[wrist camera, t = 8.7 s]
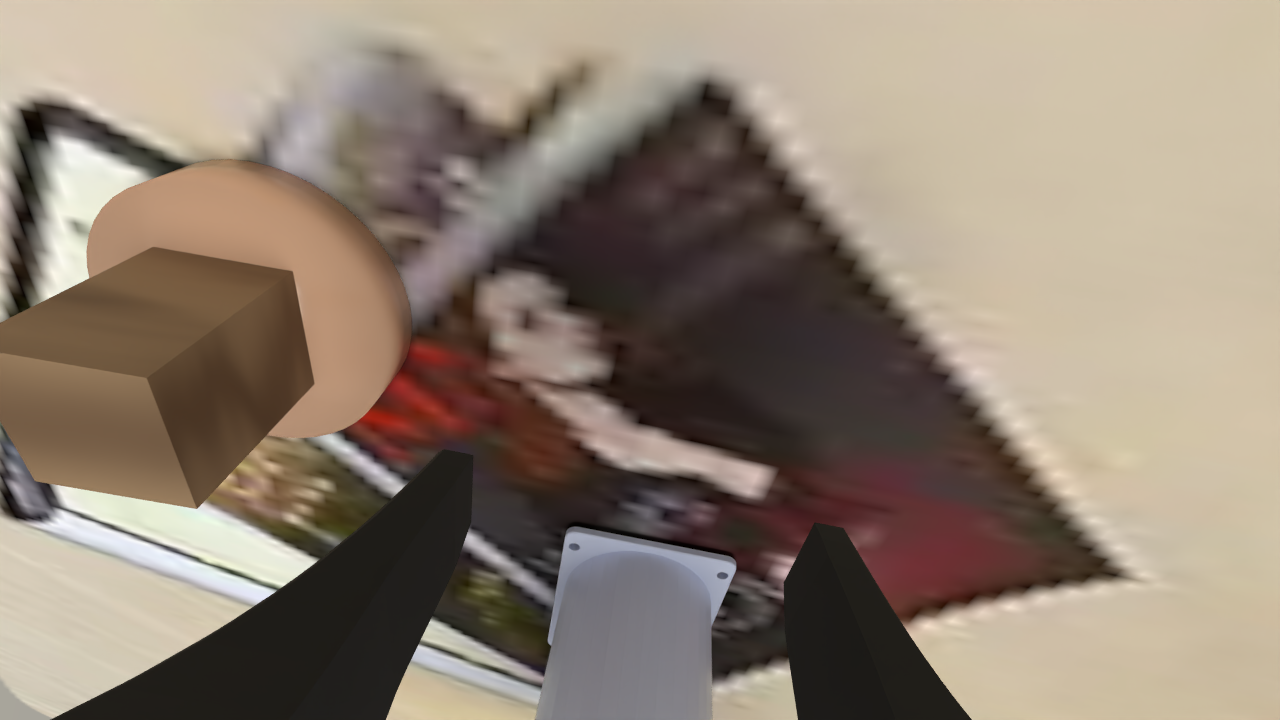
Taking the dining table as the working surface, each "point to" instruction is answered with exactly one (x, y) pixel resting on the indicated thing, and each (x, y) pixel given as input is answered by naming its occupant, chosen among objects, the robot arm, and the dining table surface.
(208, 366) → the walnut block
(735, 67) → the dining table surface
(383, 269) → the tan round disc
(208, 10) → the dining table surface
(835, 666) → the robot arm
